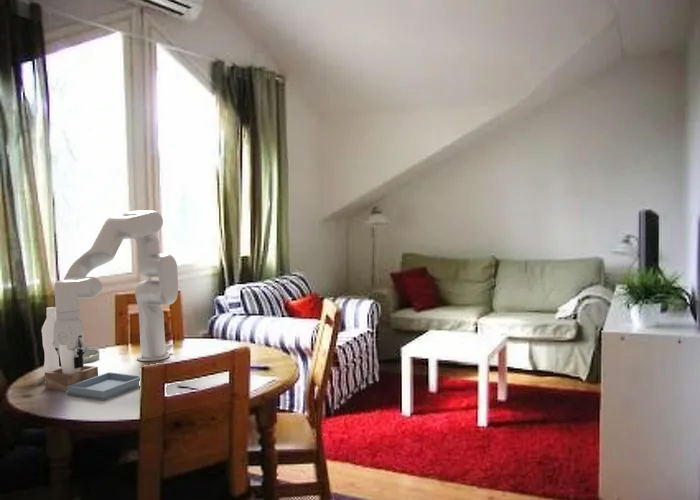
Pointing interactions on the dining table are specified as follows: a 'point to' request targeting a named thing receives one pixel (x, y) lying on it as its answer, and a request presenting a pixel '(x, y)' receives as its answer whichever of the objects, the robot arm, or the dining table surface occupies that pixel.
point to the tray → (104, 386)
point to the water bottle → (49, 341)
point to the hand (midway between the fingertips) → (71, 366)
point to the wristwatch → (88, 353)
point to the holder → (68, 377)
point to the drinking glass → (67, 360)
